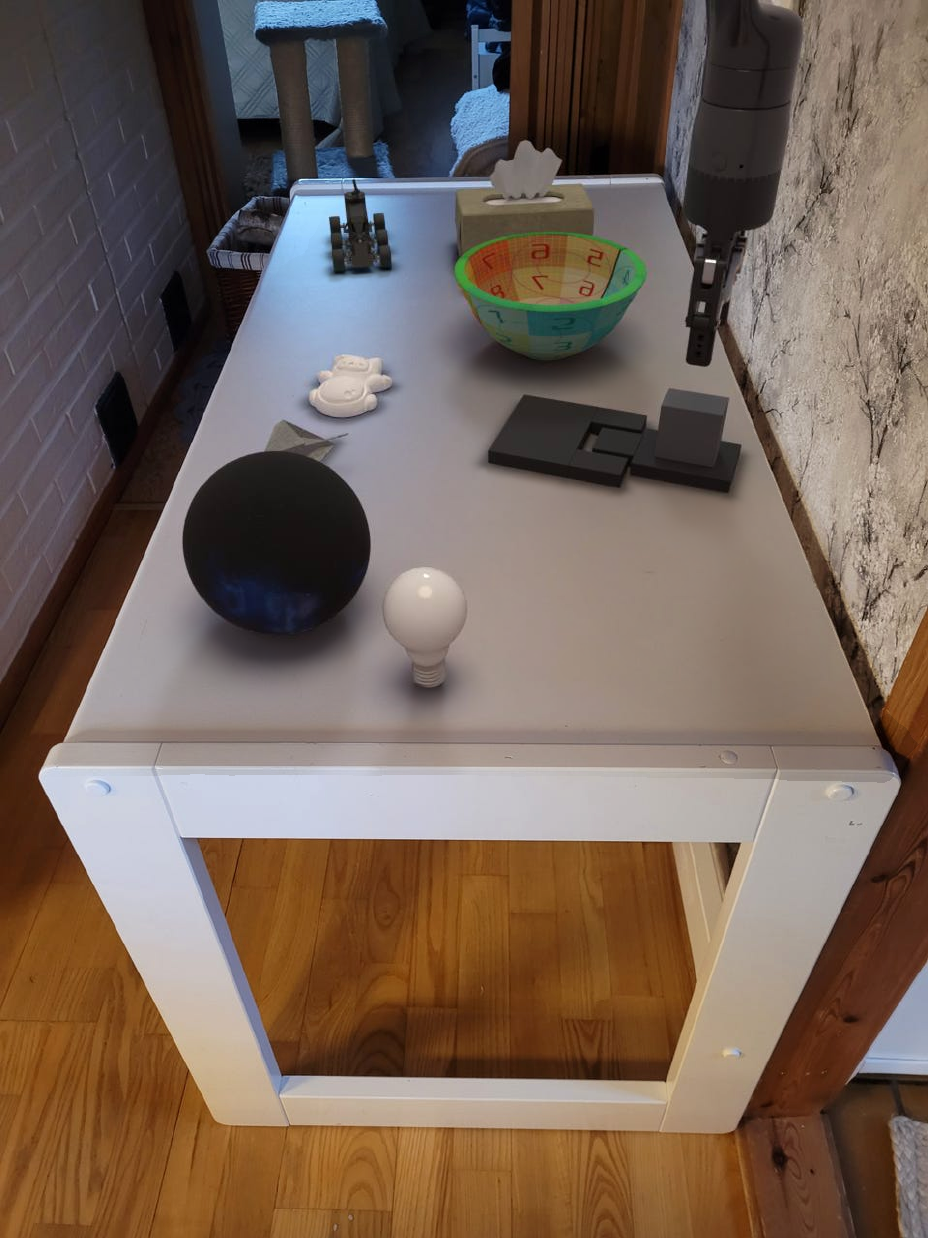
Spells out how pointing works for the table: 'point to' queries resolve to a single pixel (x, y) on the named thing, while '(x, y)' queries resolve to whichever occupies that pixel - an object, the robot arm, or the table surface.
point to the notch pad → (562, 439)
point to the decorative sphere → (276, 542)
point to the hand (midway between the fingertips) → (706, 342)
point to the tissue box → (522, 201)
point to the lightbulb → (425, 619)
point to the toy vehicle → (359, 235)
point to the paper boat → (298, 441)
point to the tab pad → (664, 467)
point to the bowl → (549, 290)
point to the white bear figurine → (349, 386)
